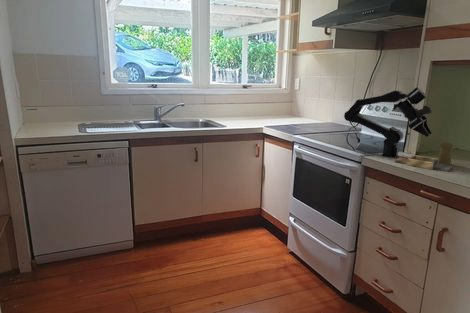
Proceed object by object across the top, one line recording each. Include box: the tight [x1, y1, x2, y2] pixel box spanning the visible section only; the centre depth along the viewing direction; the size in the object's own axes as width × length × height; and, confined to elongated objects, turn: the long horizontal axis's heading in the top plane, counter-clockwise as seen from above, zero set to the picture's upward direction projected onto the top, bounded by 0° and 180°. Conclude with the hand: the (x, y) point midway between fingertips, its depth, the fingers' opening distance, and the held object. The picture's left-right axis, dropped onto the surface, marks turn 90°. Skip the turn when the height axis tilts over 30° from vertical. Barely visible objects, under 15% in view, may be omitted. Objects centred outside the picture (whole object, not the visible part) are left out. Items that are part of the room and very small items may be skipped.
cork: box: [437, 141, 454, 166], centre depth 167 cm, size 6×6×11 cm
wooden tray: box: [394, 155, 452, 172], centre depth 165 cm, size 23×11×3 cm, turn 49°
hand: (429, 134), depth 170 cm, fingers open, 9 cm apart
